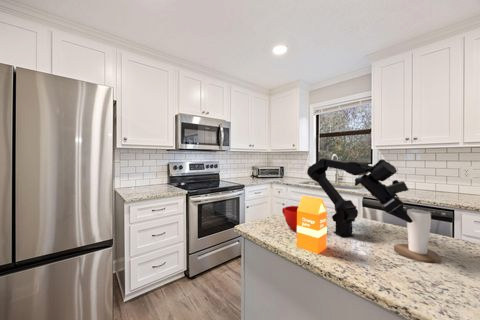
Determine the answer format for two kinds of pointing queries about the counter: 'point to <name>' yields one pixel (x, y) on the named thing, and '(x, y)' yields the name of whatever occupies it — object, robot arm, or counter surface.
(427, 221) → the white tapered cylinder
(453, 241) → the counter surface
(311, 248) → the orange juice
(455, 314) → the counter surface
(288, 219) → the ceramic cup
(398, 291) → the counter surface
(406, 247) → the walnut coaster
